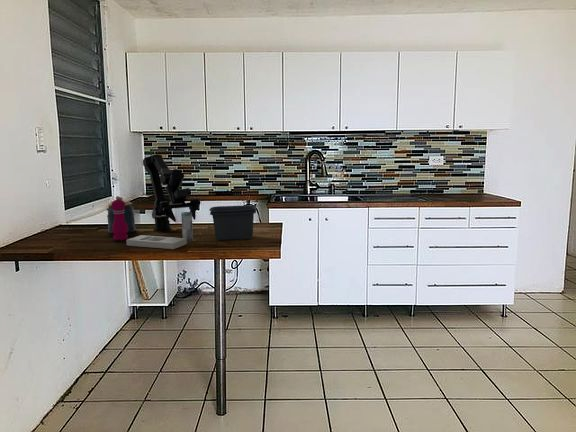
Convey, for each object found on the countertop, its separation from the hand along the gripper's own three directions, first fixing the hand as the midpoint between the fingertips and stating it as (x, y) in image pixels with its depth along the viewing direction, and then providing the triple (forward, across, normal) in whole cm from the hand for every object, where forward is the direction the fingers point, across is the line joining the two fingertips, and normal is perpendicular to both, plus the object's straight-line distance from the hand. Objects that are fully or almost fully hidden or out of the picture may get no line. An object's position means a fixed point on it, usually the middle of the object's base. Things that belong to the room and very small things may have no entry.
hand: (185, 220), depth 207 cm
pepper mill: (-10, -23, +23) cm, 34 cm away
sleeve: (+8, 0, +5) cm, 10 cm away
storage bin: (+12, +21, +2) cm, 24 cm away
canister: (-22, -18, +35) cm, 45 cm away
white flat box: (+6, -14, +7) cm, 16 cm away
